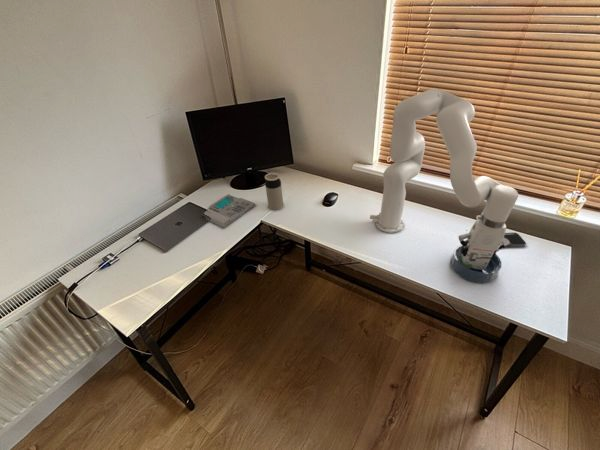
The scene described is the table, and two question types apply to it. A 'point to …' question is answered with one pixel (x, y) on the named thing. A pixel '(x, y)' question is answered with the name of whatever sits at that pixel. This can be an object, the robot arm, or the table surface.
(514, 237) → the phone
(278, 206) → the travel mug
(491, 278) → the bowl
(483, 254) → the ink box
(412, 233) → the table surface
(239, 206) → the office telephone
